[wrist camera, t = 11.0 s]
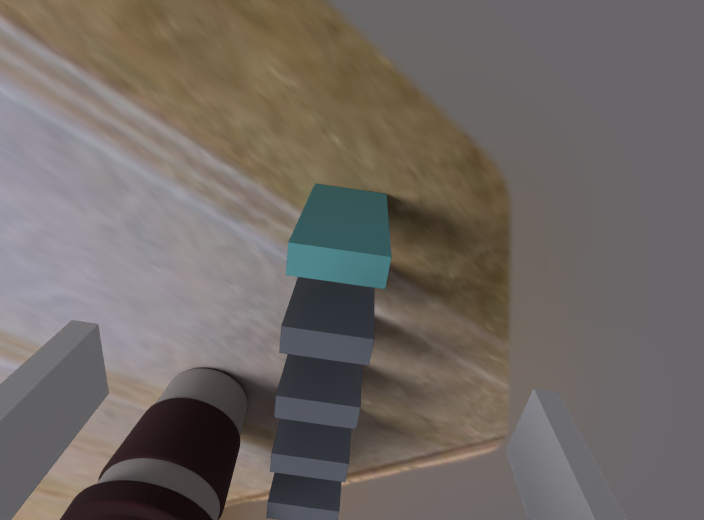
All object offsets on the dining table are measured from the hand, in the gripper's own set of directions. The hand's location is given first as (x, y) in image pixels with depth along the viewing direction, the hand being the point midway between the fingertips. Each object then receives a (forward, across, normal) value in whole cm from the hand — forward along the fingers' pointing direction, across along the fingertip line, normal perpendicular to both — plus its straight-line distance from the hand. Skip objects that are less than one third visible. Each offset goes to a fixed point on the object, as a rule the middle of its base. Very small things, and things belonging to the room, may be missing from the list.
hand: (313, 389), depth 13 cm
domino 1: (+18, 0, 0) cm, 19 cm away
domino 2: (+18, 0, -5) cm, 19 cm away
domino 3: (+18, 0, -10) cm, 21 cm away
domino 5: (+18, 0, -20) cm, 27 cm away
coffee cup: (+19, -10, -21) cm, 30 cm away
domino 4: (+18, 0, -15) cm, 24 cm away
